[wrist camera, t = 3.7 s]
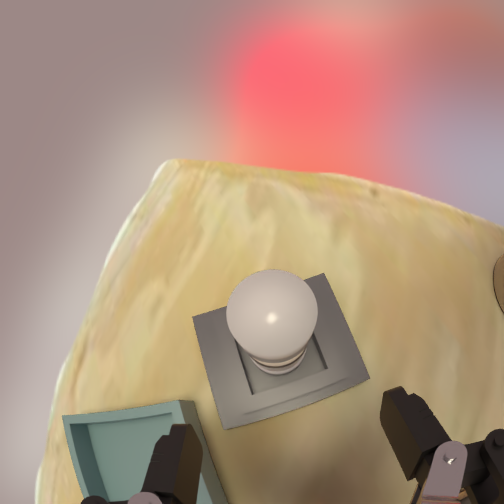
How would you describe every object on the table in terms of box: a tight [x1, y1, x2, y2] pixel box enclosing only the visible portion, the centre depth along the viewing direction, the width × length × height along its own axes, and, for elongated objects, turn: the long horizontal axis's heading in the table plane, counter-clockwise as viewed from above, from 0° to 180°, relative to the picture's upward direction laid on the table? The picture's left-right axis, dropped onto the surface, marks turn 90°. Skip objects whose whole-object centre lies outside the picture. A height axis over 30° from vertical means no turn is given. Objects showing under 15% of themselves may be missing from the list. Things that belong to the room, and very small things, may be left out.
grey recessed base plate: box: [192, 273, 370, 430], centre depth 21 cm, size 12×10×2 cm
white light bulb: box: [226, 270, 318, 376], centre depth 17 cm, size 4×4×10 cm
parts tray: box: [62, 400, 228, 504], centre depth 16 cm, size 12×12×4 cm
